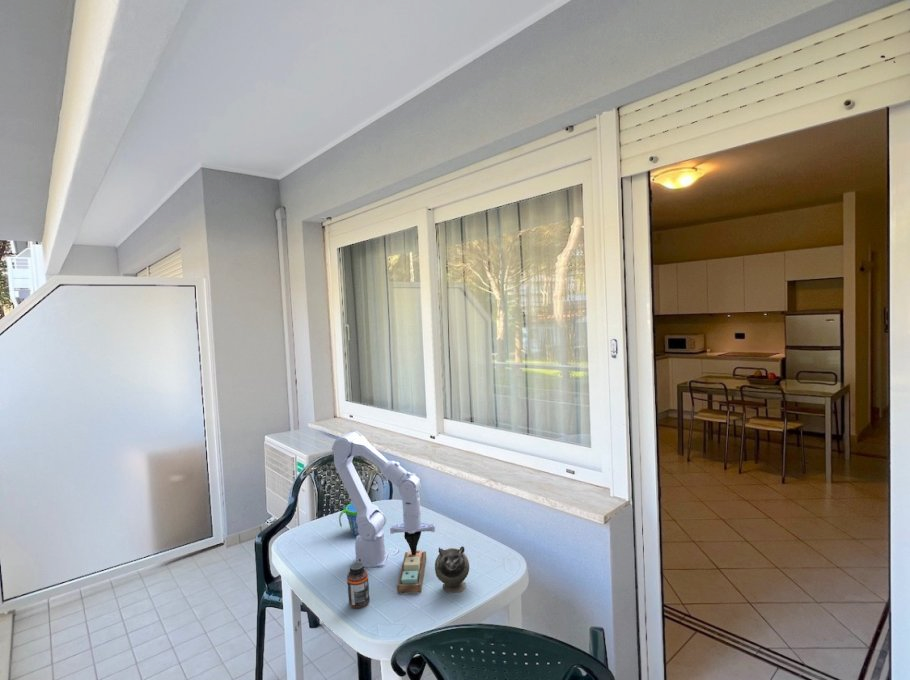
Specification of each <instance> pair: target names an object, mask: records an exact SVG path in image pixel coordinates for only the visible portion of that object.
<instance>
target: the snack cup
mask: <svg viewBox="0 0 910 680" xmlns="http://www.w3.org/2000/svg"><path fill="white" fill-rule="evenodd" d="M371 503H372V504H374V503H373V502H372V501H371ZM374 505H376V504H374ZM379 510H380V508H379ZM380 511H381V510H380ZM344 514H345V515H346V517H347V520H348V525H349V529H350V532H351V534H352V535H353V536H356V537H357V536H358V535H359V533H358V525H357V523H356V517H357V511H356V509H355V507H354V505H353V502H351V503H349V504H347V505H346V506H345V508H344V509H343V510H341V511H340V513H339V517H338V522H339V526H340V528H342V526H343V525H342V521H341V519H342V518H341V517H342V516H343V515H344Z"/></svg>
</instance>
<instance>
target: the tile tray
mask: <svg viewBox="0 0 910 680" xmlns="http://www.w3.org/2000/svg"><path fill="white" fill-rule="evenodd" d="M407 554H408V551H405V553H404V556H403V561H402V564H401V568H400V571H399V577H398V581H397V584H396V591H397V592H396V593H397V594H399V595H400V594H421V593H422V590H423V589H422V588H423V583H424V577H425V570H426V564H427V551H422V561H420V565H421V567H420V572H418V574H419V582H418V583H416V584H402V581H401V579H402V575H403V571H404V562H405V558H406V557H407Z"/></svg>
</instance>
